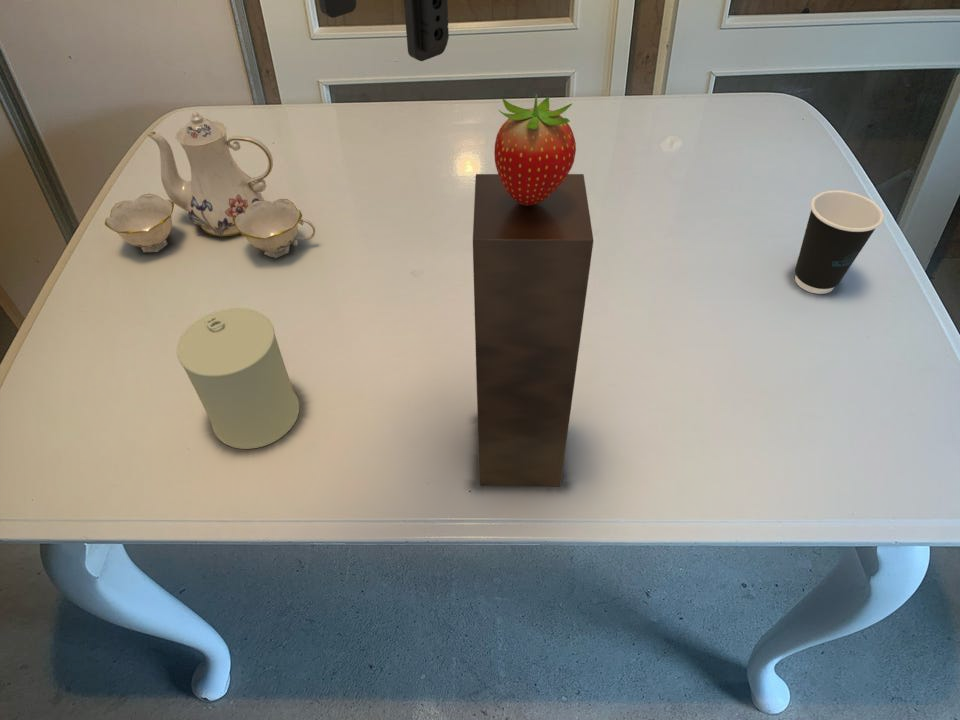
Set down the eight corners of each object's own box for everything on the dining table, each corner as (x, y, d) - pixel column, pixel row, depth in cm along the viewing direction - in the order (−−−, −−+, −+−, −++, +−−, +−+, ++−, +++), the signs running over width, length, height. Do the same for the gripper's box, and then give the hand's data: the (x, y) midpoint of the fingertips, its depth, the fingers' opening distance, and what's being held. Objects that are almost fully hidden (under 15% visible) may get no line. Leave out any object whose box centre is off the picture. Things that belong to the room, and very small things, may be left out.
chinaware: (109, 278, 92) (44, 178, 78) (144, 196, 102) (91, 95, 88) (317, 273, 92) (287, 172, 78) (331, 193, 102) (307, 91, 88)
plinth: (479, 485, 67) (472, 240, 45) (480, 421, 73) (475, 173, 51) (560, 486, 67) (593, 240, 45) (556, 421, 72) (583, 173, 50)
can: (274, 369, 78) (246, 290, 69) (315, 418, 73) (291, 340, 64) (198, 410, 74) (158, 332, 65) (236, 464, 69) (198, 388, 60)
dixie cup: (791, 254, 91) (820, 182, 83) (854, 274, 88) (890, 202, 80) (774, 288, 86) (803, 215, 78) (839, 310, 83) (876, 237, 75)
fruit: (528, 175, 50) (533, 67, 44) (584, 203, 48) (596, 92, 42) (477, 206, 48) (475, 96, 42) (533, 237, 45) (539, 124, 39)
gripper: (176, -368, 30) (262, 17, 42) (368, -373, 23) (407, 94, 35) (319, -368, 34) (361, -13, 45) (524, -372, 26) (511, 52, 38)
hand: (381, 33), depth 40 cm, fingers open, 8 cm apart
